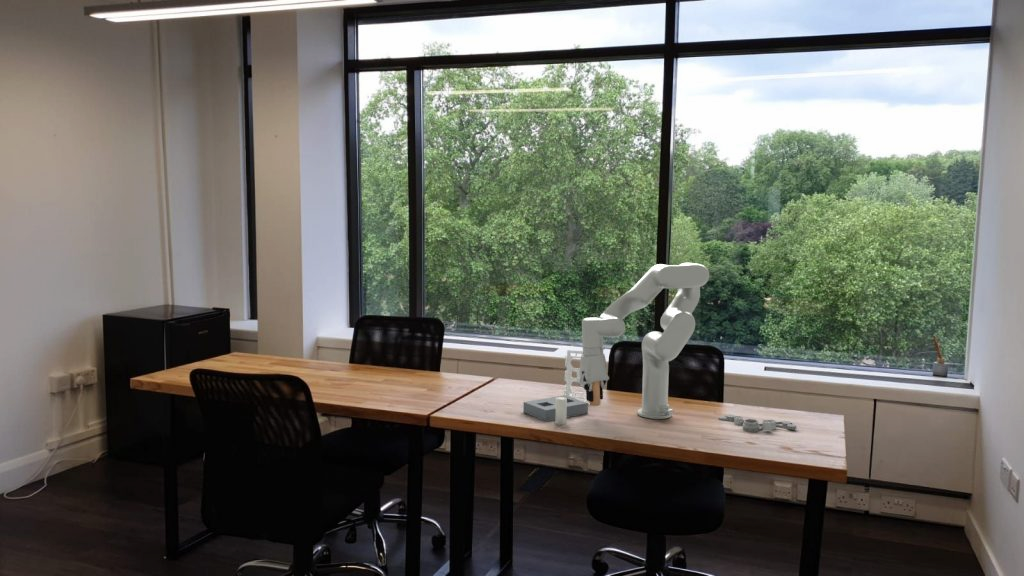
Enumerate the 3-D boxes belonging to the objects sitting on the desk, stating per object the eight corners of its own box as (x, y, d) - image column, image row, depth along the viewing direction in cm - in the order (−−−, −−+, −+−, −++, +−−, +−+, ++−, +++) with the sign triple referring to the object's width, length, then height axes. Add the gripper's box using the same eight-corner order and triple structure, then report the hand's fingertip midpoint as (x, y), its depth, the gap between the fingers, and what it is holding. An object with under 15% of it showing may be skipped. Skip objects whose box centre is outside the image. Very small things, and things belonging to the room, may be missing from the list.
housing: (587, 413, 270) (588, 402, 270) (545, 421, 259) (545, 410, 259) (564, 405, 282) (564, 395, 281) (523, 412, 270) (523, 401, 270)
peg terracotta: (602, 404, 264) (601, 380, 263) (594, 406, 262) (593, 382, 261) (595, 402, 267) (594, 378, 266) (587, 404, 265) (586, 380, 264)
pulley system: (790, 441, 242) (798, 427, 255) (790, 427, 242) (798, 415, 254) (710, 430, 257) (721, 418, 269) (710, 418, 256) (721, 406, 269)
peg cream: (568, 423, 256) (569, 399, 255) (559, 425, 254) (560, 400, 253) (561, 421, 259) (562, 396, 258) (553, 422, 257) (553, 398, 256)
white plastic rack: (559, 402, 286) (560, 353, 284) (568, 394, 299) (569, 347, 297) (595, 406, 282) (596, 356, 280) (602, 398, 295) (603, 350, 293)
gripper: (603, 346, 270) (604, 394, 272) (568, 353, 261) (570, 402, 262) (616, 349, 264) (618, 397, 266) (582, 356, 254) (584, 406, 256)
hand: (594, 399), depth 264 cm, fingers closed on peg terracotta, 4 cm apart
